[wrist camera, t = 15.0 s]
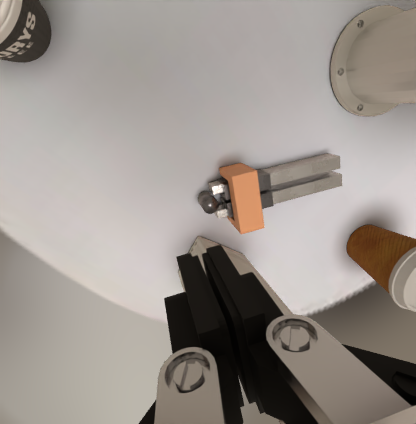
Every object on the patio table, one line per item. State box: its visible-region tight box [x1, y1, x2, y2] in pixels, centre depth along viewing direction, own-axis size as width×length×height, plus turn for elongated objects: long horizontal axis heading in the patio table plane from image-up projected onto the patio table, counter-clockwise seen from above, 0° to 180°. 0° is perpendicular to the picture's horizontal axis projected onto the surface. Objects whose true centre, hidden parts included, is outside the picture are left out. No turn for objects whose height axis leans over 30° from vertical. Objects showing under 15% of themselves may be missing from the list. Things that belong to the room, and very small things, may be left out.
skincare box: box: [178, 236, 293, 315], centre depth 35 cm, size 8×7×16 cm
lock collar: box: [219, 163, 264, 234], centre depth 37 cm, size 3×7×5 cm, turn 11°
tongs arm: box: [214, 171, 342, 219], centre depth 39 cm, size 17×2×3 cm, turn 101°
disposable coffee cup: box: [347, 225, 416, 312], centre depth 42 cm, size 10×10×12 cm
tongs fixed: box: [198, 153, 340, 214], centre depth 38 cm, size 19×3×3 cm, turn 100°
